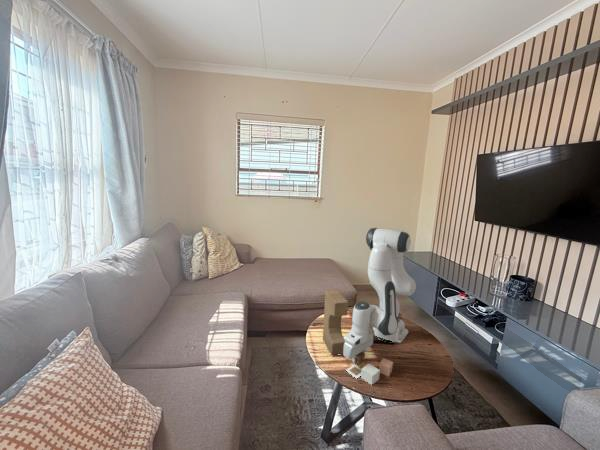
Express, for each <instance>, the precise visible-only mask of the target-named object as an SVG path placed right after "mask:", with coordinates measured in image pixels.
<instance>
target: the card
mask: <svg viewBox="0 0 600 450" xmlns="http://www.w3.org/2000/svg"><path fill="white" fill-rule="evenodd" d="M345 370H346V371H347V372H348V373H349V374H348V373H347V372H346V371H345V372H346V373H347V374H348V375H350V374H351V375H352V376H351V375H350V376H351V377H353V378H354V377H355V378H356V379H355V378H354V379H355V380H358V379H360V378H361V377H360V376H361V370H362V368H360V366H357V365H356V364H354V363H353V364H352V365H351V366H350V367H348V368H346V369H345ZM357 378H358V379H357Z"/></svg>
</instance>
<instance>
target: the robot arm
mask: <svg viewBox="0 0 600 450" xmlns="http://www.w3.org/2000/svg"><path fill="white" fill-rule="evenodd" d="M365 242H366V245H367V246H368V247H369V250H370V253H369V254H370V255H369V259H368V264H367V277H368V279H369V283H370V285H371V286H372V288H373V289H374V290H375V291H376V293H377V295H378V299H379V306H378V305H376V304H370V303H368V302H367V301H359V302H357V303H355V305H354V307H353V308H352V317H351V322H352V325H351V329H350V330H349V331H348V333H347V334H346V335H345V336H343V338H344V340H345V343H344V349H343V356H344V357H345V358H346V359H347V360H351V358H352V362H351V363H353V362H356V358H355V357H356V355H357V354H359V353H360V352H364V353H365V354H366V351H367V350H368V349H369V348H370V347H372V346H373V344H374V336H375V337H376V336H377V337H380V338H383V339H386V340H390V341H392V342H391V343H398V344H400V343H402V342H403V341H404V339H405V338H406V337H407V335H408V334H409V330H408V329H407V328H405V327H406V323H405V321H403V320H402V319H400V317H402V316H403V313H401V312H400V307H401V306H400V305H401V304H400V302H399V300H398V298H397V296H396V295H401V296H407V297H408V296H412V295H413V294H414V293H415V292H416V289H417V285H416V282H415V280H414V279H413V278H412V277H411V276H410V275H409V274H408V272H406V270H405V269H406V268H405V266H404V253H406V252H408V251H409V249H410V247H411V243H412V242H411V235H410V234H409V233H408V232H405V231H399V230H396V229H390V228H378V227H371V228H370V229H369V230H368V231H367V232H366V236H365ZM371 326H372V328H370V327H371ZM373 332H374V333H373ZM377 337H376V338H377Z"/></svg>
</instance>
